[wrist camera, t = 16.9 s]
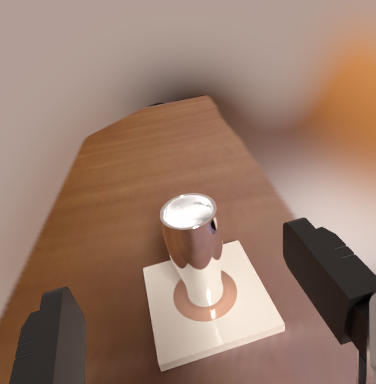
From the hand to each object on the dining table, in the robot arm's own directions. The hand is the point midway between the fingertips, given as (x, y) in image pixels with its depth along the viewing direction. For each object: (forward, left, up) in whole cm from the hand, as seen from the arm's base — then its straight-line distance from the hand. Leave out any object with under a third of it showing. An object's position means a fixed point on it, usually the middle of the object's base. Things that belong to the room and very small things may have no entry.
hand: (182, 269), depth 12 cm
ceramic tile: (+3, +21, -30) cm, 37 cm away
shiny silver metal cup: (+3, +21, -29) cm, 36 cm away
